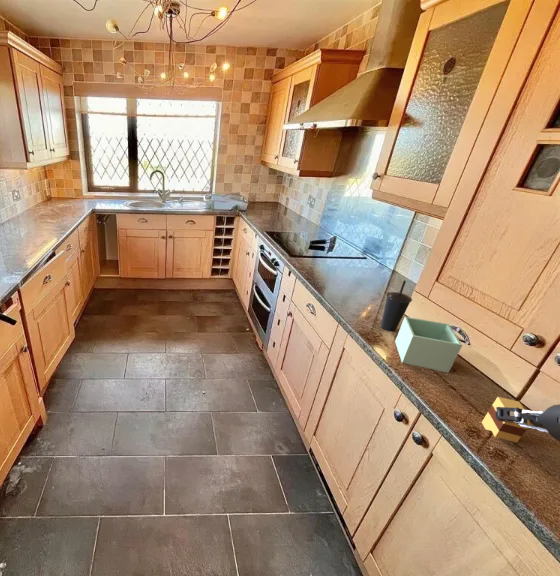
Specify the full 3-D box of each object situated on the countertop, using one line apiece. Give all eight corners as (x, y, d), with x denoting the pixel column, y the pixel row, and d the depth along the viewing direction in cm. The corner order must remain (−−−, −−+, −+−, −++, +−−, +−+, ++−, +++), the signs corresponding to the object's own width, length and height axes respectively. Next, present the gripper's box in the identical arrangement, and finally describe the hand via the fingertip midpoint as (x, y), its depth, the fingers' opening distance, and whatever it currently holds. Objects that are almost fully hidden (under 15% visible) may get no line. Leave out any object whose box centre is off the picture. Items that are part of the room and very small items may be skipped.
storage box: (436, 350, 105) (448, 324, 100) (448, 373, 95) (462, 345, 90) (395, 341, 109) (404, 316, 105) (401, 362, 99) (412, 335, 95)
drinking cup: (377, 331, 115) (393, 283, 106) (375, 320, 121) (390, 274, 112) (401, 335, 112) (420, 287, 103) (398, 325, 118) (415, 278, 110)
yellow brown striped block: (501, 427, 77) (519, 401, 73) (514, 447, 72) (533, 421, 68) (481, 422, 79) (497, 396, 75) (491, 441, 74) (509, 415, 70)
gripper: (647, 418, 52) (566, 415, 67) (535, 393, 57) (482, 395, 72) (653, 465, 50) (568, 451, 65) (536, 435, 55) (482, 429, 70)
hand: (523, 422), depth 68 cm, fingers open, 8 cm apart
